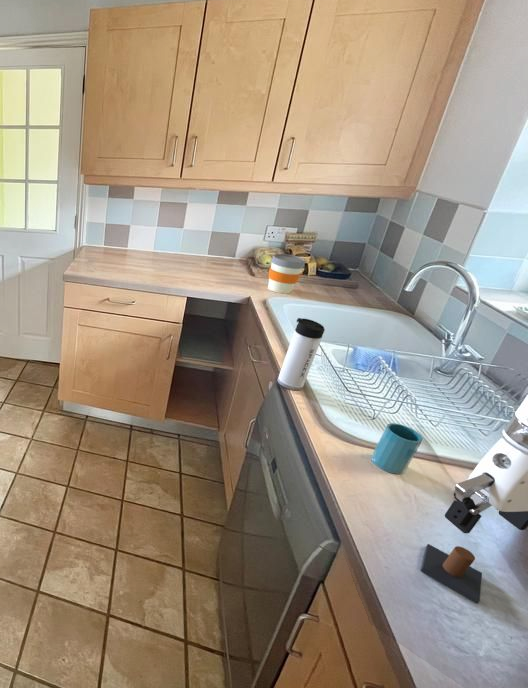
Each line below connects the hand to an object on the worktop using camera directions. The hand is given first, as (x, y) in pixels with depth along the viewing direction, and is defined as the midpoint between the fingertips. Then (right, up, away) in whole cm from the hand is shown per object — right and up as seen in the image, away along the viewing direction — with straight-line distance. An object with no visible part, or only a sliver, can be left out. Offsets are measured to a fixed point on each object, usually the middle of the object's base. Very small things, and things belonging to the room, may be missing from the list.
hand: (483, 523), depth 65 cm
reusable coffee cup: (+46, +41, +122) cm, 137 cm away
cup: (+9, -1, +27) cm, 29 cm away
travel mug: (+5, +11, +54) cm, 56 cm away
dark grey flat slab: (0, -11, +5) cm, 12 cm away
